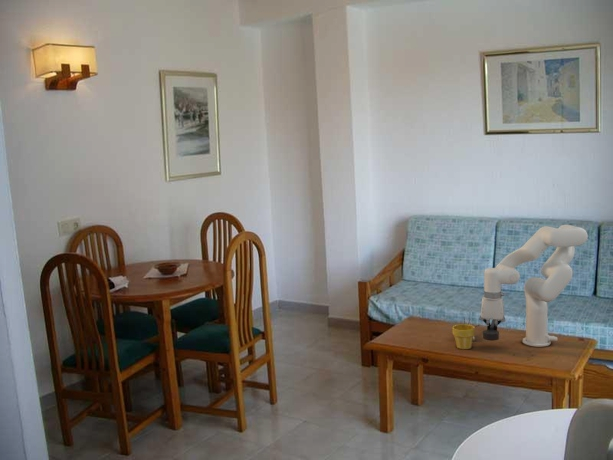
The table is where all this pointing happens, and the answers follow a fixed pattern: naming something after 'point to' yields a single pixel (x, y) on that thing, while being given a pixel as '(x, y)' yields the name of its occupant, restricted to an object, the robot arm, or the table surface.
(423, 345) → the table surface
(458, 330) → the flower pot
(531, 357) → the table surface
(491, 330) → the ladle
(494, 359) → the table surface
